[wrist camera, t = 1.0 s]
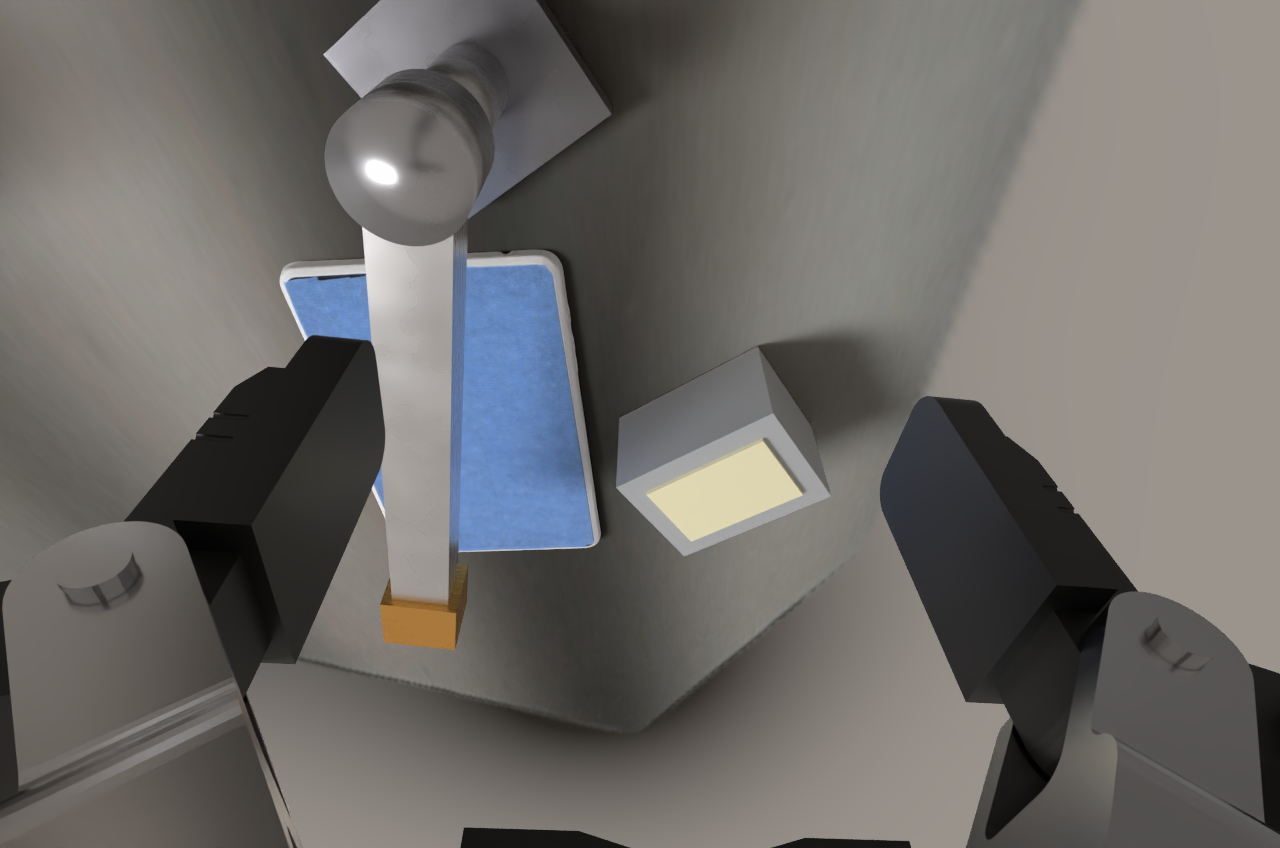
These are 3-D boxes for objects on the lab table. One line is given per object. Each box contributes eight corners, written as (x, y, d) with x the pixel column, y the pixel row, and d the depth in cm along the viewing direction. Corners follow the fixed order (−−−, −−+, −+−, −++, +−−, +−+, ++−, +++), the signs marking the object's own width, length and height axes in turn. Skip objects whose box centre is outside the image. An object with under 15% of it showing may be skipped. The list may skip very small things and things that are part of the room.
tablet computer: (279, 256, 29) (266, 270, 28) (562, 242, 29) (559, 256, 28) (404, 540, 42) (398, 557, 41) (604, 534, 41) (603, 551, 40)
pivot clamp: (483, -94, 21) (432, -77, 16) (612, 104, 25) (604, 168, 20) (336, 46, 24) (252, 98, 19) (473, 207, 27) (434, 286, 22)
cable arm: (359, 55, 17) (316, 85, 15) (498, 84, 18) (476, 117, 16) (396, 590, 33) (378, 645, 30) (471, 599, 33) (458, 654, 31)
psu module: (757, 346, 32) (773, 416, 28) (811, 426, 35) (832, 499, 31) (619, 418, 35) (615, 490, 31) (680, 485, 38) (684, 559, 34)
